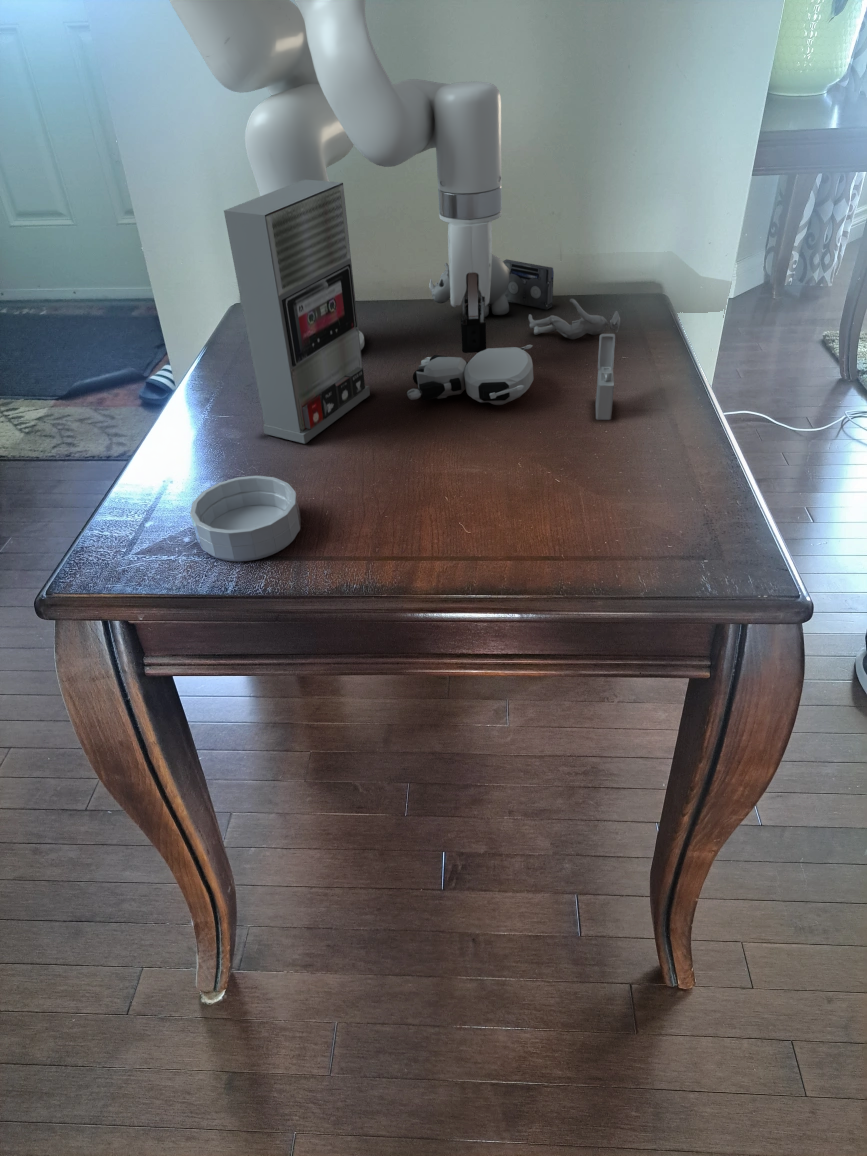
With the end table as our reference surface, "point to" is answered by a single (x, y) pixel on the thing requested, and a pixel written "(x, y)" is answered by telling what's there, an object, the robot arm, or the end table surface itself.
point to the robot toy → (476, 376)
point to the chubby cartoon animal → (496, 289)
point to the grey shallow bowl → (246, 518)
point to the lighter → (605, 377)
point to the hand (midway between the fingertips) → (474, 350)
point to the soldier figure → (575, 324)
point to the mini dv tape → (530, 284)
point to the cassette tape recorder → (299, 305)
